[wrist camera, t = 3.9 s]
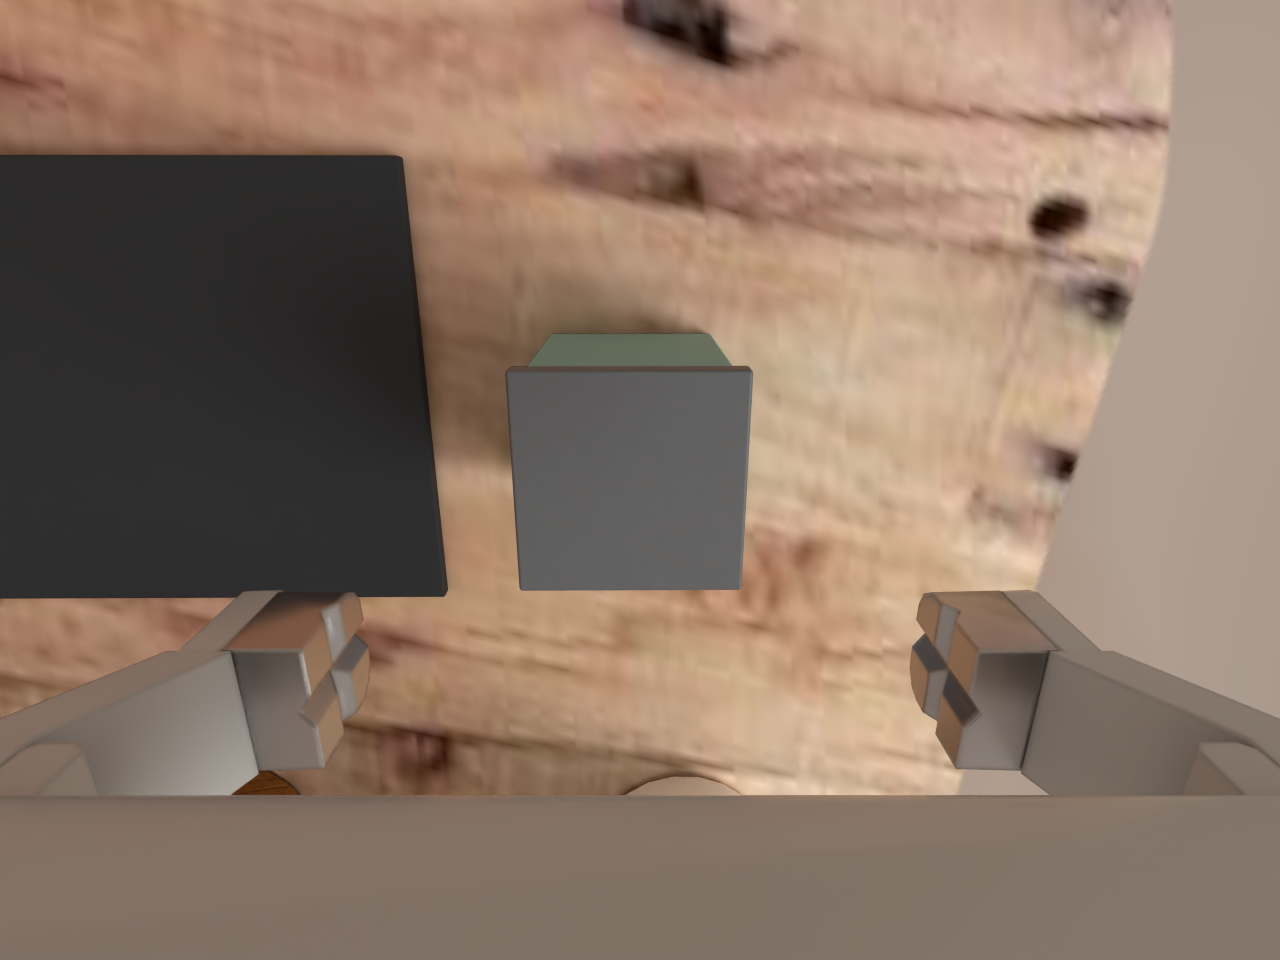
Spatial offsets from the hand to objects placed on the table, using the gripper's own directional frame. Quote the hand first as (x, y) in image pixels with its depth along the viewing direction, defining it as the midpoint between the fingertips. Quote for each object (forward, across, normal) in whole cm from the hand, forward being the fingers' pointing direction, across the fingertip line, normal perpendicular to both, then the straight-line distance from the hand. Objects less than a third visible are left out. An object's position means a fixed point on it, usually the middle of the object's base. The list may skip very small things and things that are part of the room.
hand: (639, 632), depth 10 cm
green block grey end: (+13, 0, 0) cm, 13 cm away
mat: (+13, -15, 0) cm, 20 cm away
